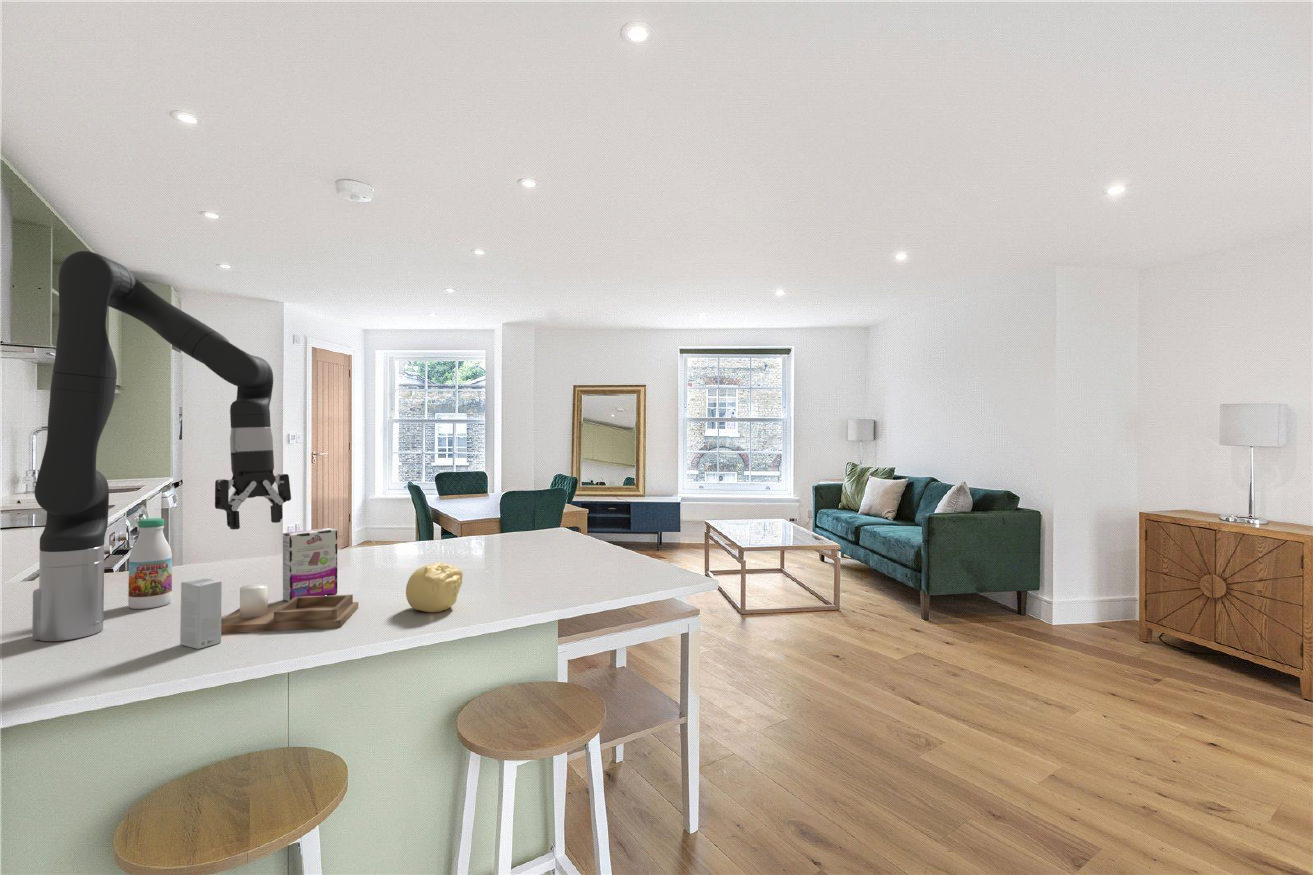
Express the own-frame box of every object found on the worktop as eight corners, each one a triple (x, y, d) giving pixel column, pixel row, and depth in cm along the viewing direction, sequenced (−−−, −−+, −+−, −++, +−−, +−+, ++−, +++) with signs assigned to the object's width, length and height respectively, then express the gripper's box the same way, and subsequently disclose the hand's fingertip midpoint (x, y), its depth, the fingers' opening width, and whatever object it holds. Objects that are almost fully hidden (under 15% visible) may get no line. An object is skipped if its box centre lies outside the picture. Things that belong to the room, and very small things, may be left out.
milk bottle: (121, 606, 138) (122, 519, 137) (161, 598, 144) (162, 515, 144) (137, 611, 134) (138, 522, 134) (178, 603, 141) (179, 518, 141)
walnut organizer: (210, 633, 121) (211, 596, 121) (242, 613, 134) (242, 579, 134) (340, 627, 126) (341, 591, 126) (358, 608, 140) (358, 576, 140)
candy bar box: (328, 590, 154) (329, 527, 154) (338, 594, 151) (338, 529, 151) (280, 599, 145) (281, 532, 145) (289, 603, 142) (290, 534, 142)
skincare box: (222, 643, 116) (223, 581, 116) (197, 650, 112) (198, 586, 112) (203, 638, 118) (204, 577, 118) (178, 644, 115) (179, 582, 114)
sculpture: (443, 618, 134) (444, 569, 134) (395, 614, 136) (396, 566, 136) (469, 604, 145) (470, 559, 145) (424, 600, 147) (425, 556, 147)
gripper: (274, 448, 135) (277, 520, 135) (204, 451, 122) (208, 530, 122) (296, 447, 132) (299, 521, 132) (226, 450, 119) (231, 532, 119)
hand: (255, 525), depth 127 cm, fingers open, 8 cm apart
